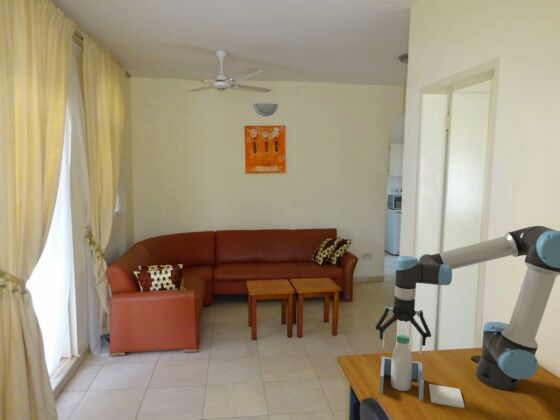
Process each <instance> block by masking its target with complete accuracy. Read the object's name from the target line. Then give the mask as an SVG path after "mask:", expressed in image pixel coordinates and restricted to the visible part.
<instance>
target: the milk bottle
mask: <svg viewBox="0 0 560 420" xmlns="http://www.w3.org/2000/svg"><path fill="white" fill-rule="evenodd" d="M409 345H410V337H409V336H408V335H405V334H399V335H397V336H396V346H395V347H394V349H393V351H392V355H391V358H392V362H391V375H390V386H391V387H392V388H394V390H396V391H400V392H407V391H409V390H411V388H412V380H413V379H412V361H413V355H412V353H411V351H410V347H409Z"/></svg>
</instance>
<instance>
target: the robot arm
mask: <svg viewBox="0 0 560 420" xmlns="http://www.w3.org/2000/svg"><path fill="white" fill-rule="evenodd" d="M511 256H512V257H515V258H518V257H522V256H525V258H524V264H525V265H526V267H527V269H526V271H525V275H524V278H523V281H522V284H521V287H520V290H519V292H518V293H519V294H518V296H517V299H516V302H515V306H514V308H513V311H512V314H511V317H510V321H509V323H506V322H505V323H504V322H501V321H500V322H499V321H488V322H485V323H484V325H483V329H482V331H483V333H482V347H481V357H480V360H479V361H478V363H477V365H476V367H475V377H476V378H477V380H479V381H480V382H481V383H482V384H485V385H487V386H489V387H491V388H495V389H499V390H504V391H505V390H506V391H507V390H508V391H509V390H510V391H511V390H514V389H517V388H518V387H519V383H520V380H526V379H528V378H531V377H532V376H534V375H535V374H536V372H537V371H538V368H539V363H538V362H539V361H538V359H537V357H536V354H537V351H538V347H539V344H538V342H537V341H536V337H537V334H538V331H539V328H540V325H541V322H542V320H543V316H544V314H545V312H546V308H547V305H548V302H549V299H550V297H551V293H552V290H553V288H554V285H555V282H556V278H557V277H558V276H560V231H559V230H556V229H553V228H550V227H547V226H543V225H532V226H528V227H524V228H521V229H520V228H519V229H516V230H513V231H507V232H506V233H505V234H504V236H501V237H496V238H492V239H488V240H485V241H481V242H478V243H473V244H469V245H465V246H461V247H458V248H457V247H456V248H454V249H451V250H450V249H449V250H446V251H443V252H439V253H433V254H429V253H425V254H421V255H420V256H419V258H417V257H415V256H411V255H401V256H398V257H397V259H396V264H395V265H396V266H395V282H394V283H395V284H394V299H393V306H392V307H389V306H388V305H386V306H385V308H384V312H383V313H382V315H381V316H380V318H379V319H378V321H377V323H376V325H375V330H377V331H379V340H382V343H381V344H382V346H381V347H382V349H385V341H386V340H385V339H386V329H388V328H389V327H390V326H391V325H392V324H394V323H395V322H397V321H399V322H406V323H408V322H410V323H411V325H413V327H414V328H415V329H416V330H417V332H418V333H419V334H420V335H419V345H418V346H419V347H418V354H419V355H421V356H422V352H423V347H424V346H426V342H427V341H426V340H427V338H432V333H431V330H430V328H429V326H428V323H427V322H426V319H425V317H424V310H421V309H420V310H416V309H415V308H416V307H415V306H416V293H417V291H416V290H417V284H425V285H436V286H437V285H438V286H449V285H450V284H452V280H453V271H452V270H455V269H461V268H465V267H469V266H472V265H476V264H480V263H485V262H488V261H493V260H497V259H501V258H502V259H503V258H505V257H511ZM391 312H392V313H393V315H392V316H391V317H390V318H389V319H388V320H387V321H385V320H386V318H387V316H388V315H389V314H391ZM416 315H417V318H419V321H420V322H421V324H422V326H423V328H424V330H423V329H422V327H421V326H420V324H419V323H418V322H417V321H416V319H415V318H414V317H415V316H416ZM384 321H385V323H383V322H384Z"/></svg>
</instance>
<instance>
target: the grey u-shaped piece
mask: <svg viewBox="0 0 560 420" xmlns="http://www.w3.org/2000/svg"><path fill="white" fill-rule="evenodd" d="M380 361H381V363H380V374H379V393H378V394H381V395H383V394H384V383H385V381H384V380H385V376H391V362H392V357H388V356H381V360H380ZM423 374H424V371H423V364H422V361H420V362H419V361H414V360H412V380H416V381H417V388H418V389H417V390H418V399H419V401H420V402H423V401H424V391H425V390H424V388H425V383H424V380H425V379H424V375H423Z"/></svg>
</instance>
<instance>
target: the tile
mask: <svg viewBox="0 0 560 420" xmlns="http://www.w3.org/2000/svg"><path fill="white" fill-rule="evenodd" d="M428 389H429V396H430V397H429V399H430V402H431V404H439V405H442V406H443V405H444V406H450V407H455V408H460V409H465V403H464V400H463V396H462V392H461V389H460V388H456V387H451V386H445V385H444V386H443V385H438V384H431V383H428Z"/></svg>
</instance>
